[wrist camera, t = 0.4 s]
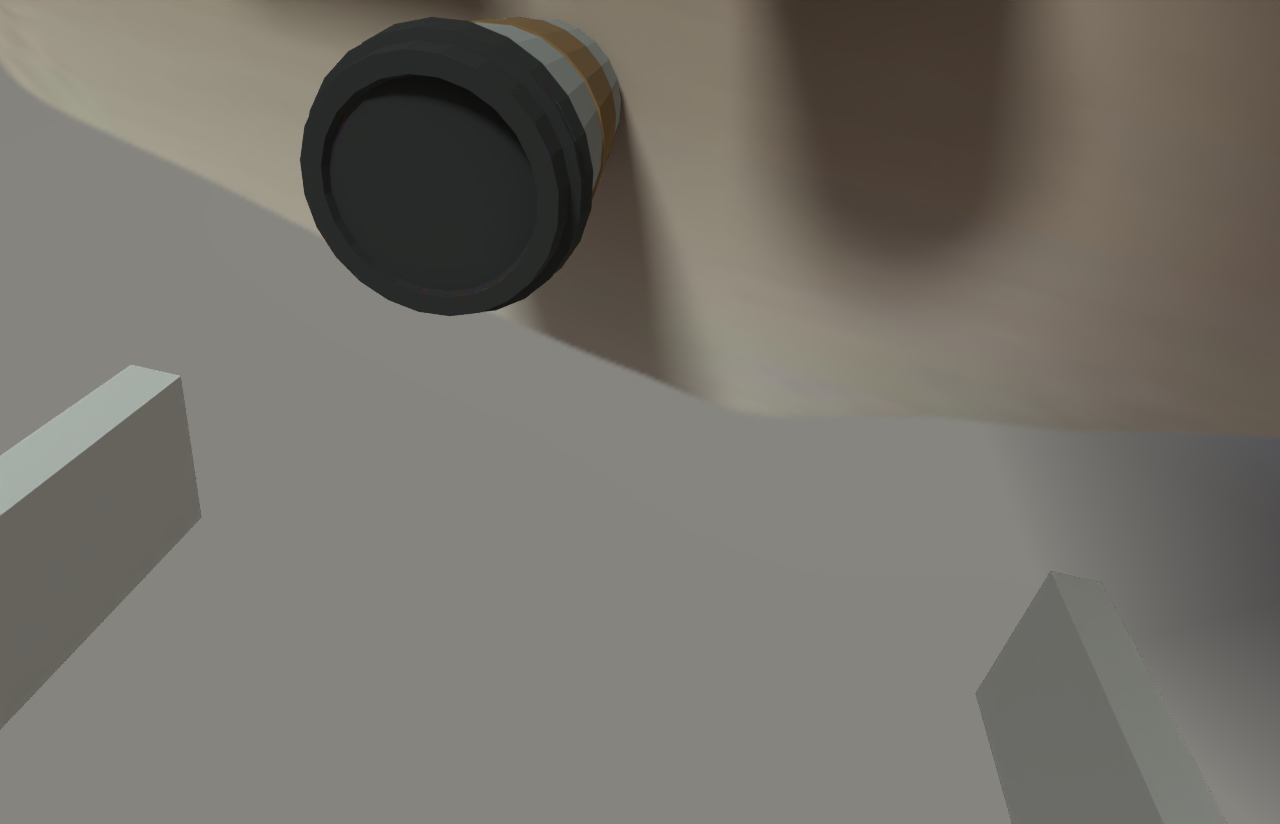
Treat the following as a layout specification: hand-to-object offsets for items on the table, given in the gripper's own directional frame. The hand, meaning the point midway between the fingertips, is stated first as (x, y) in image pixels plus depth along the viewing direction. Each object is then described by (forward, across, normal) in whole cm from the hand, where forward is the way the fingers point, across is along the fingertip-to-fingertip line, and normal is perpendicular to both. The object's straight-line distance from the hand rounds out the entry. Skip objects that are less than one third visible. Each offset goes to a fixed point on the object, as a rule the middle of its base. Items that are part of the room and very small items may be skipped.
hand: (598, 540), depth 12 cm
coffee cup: (+27, -7, 0) cm, 28 cm away
